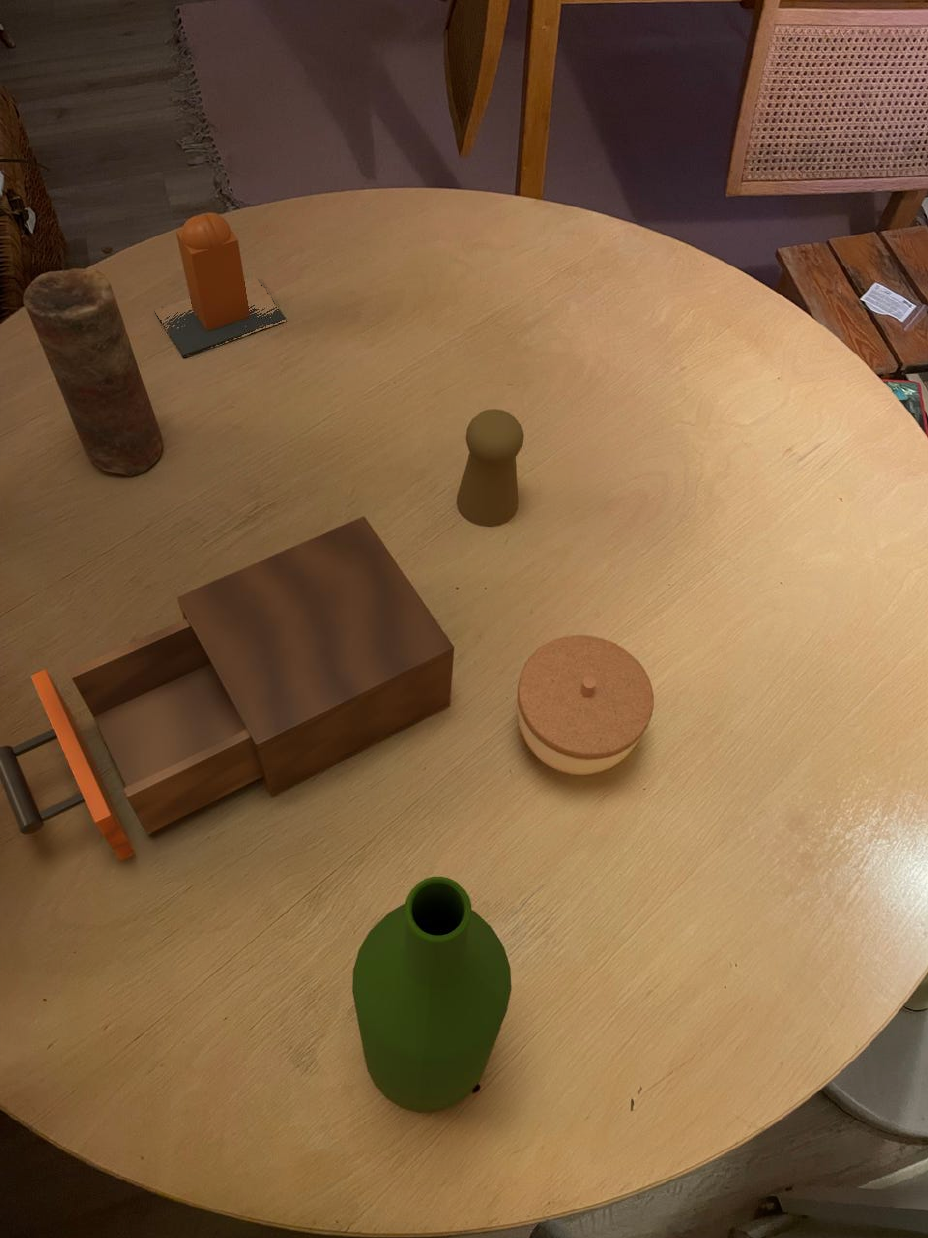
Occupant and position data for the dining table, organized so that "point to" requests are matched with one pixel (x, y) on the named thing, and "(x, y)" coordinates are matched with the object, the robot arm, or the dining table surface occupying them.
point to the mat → (199, 339)
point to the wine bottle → (430, 997)
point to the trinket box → (583, 704)
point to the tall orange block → (213, 270)
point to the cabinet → (322, 651)
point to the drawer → (142, 736)
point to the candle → (95, 368)
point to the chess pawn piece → (491, 469)
